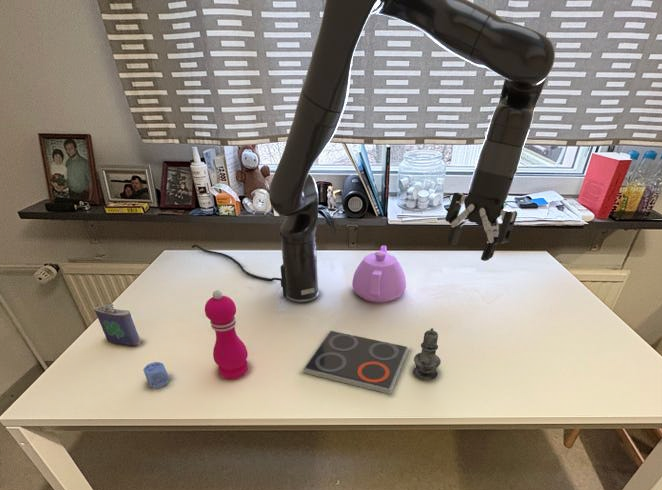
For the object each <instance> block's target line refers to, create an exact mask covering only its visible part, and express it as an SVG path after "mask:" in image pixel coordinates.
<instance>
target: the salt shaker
mask: <svg viewBox="0 0 662 490" xmlns="http://www.w3.org/2000/svg"><path fill="white" fill-rule="evenodd" d="M438 339H439V333H438V332H437V331H435V330H434V328H433V327H432V328H430V329H429V330H426V331H425V332H424V334H423V340H422V342H421V344H420V347H421V351H420V352H418V353H416V354H415V355H414V356H413V362H414V365H415V366H414V368H413V375H414V376H415V377H416V378H417V379H420V380H422V381H432V380H434V379H436V378H437V376H438V371H437V370H438V368H439V367H440V365H441V363H442V360H441V358H440V357H439V356H438V355H437V350H438V349H439V345H438V341H439V340H438Z"/></svg>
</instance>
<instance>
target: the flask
mask: <svg viewBox="0 0 662 490" xmlns="http://www.w3.org/2000/svg"><path fill="white" fill-rule="evenodd" d="M94 313H95V315H96V317H97V319H98V322H99V324H100V326H101V329H102V331H103V333H104V336H105V338H106V341H107V342H108V343H110V344H112V345H116V346H123V347H134V348H135V347H139V346H140V345H141V344H142V340H141V338H140V335H139V333H138V330H137V327H136V325H135V323H134V320H133V317H132V314H131V312H130V311H129V310H127V309H117V308H114V303H112V302H110V304H109V303H105V304H102V305H99V306H96V307H94Z"/></svg>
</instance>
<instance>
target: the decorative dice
mask: <svg viewBox="0 0 662 490" xmlns="http://www.w3.org/2000/svg"><path fill="white" fill-rule="evenodd" d="M142 371H143V374H144V376H145V378H146V381H147V384H148V386H149V387H150V388H154V389H157V388H159V389H160V388H162V387H164V386H166V385H167V384H168V383H169V381H170V377H169V374H168V372H167V369H166V367H165V365H164V363H163V362H159V361H153V362H150V363H147V365H145V367H144V368H143V369H142Z"/></svg>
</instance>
